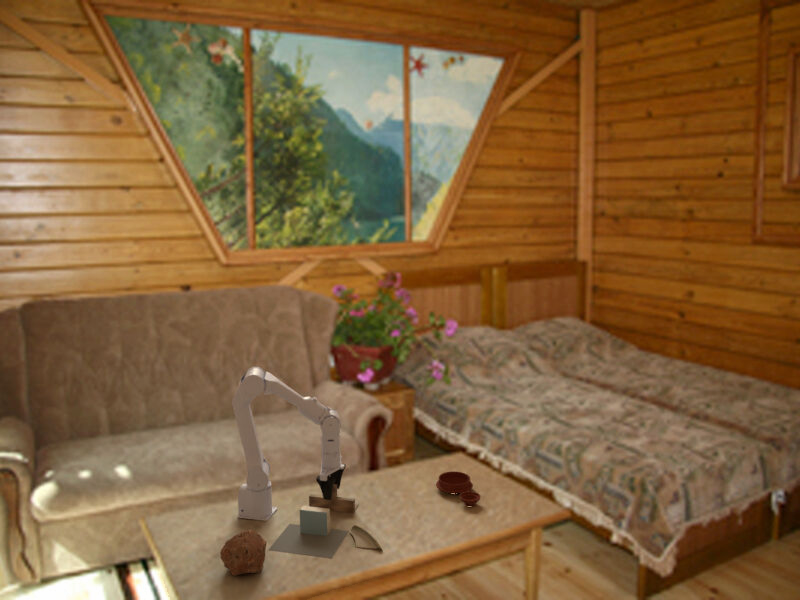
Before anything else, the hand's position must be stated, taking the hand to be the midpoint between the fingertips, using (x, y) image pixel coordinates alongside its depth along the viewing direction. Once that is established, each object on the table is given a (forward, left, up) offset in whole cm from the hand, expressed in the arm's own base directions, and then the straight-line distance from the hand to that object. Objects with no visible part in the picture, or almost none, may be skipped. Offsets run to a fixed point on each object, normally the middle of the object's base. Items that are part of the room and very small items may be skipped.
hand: (331, 493), depth 215 cm
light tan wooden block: (0, -15, -5) cm, 15 cm away
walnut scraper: (0, +2, -5) cm, 6 cm away
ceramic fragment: (+15, -16, -6) cm, 22 cm away
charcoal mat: (0, -19, -5) cm, 20 cm away
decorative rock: (-11, -37, -6) cm, 39 cm away
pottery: (+36, +18, -6) cm, 41 cm away
